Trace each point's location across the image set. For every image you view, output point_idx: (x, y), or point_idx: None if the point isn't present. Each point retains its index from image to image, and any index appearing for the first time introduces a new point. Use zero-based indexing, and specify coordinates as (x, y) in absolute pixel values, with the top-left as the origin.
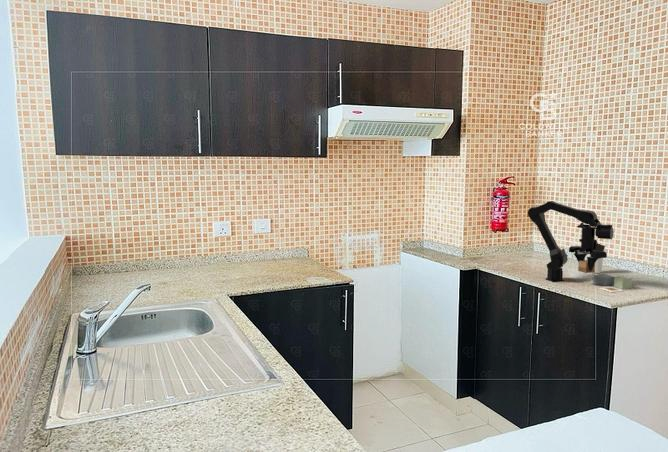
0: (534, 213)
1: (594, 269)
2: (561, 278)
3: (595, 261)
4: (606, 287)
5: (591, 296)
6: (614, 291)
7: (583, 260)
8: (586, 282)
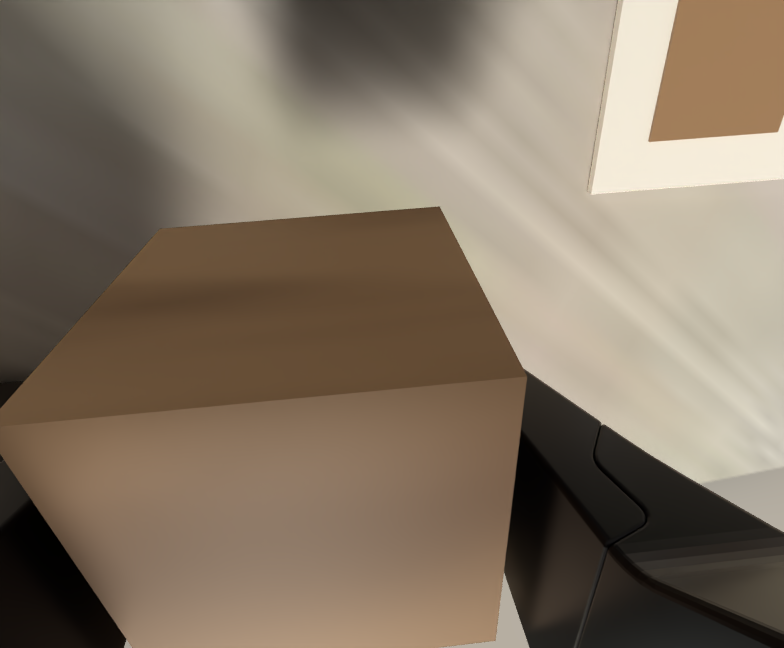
0: None
1: (453, 243)
2: None
3: (714, 519)
4: (616, 57)
5: (745, 451)
6: None
7: (91, 576)
8: (188, 115)
